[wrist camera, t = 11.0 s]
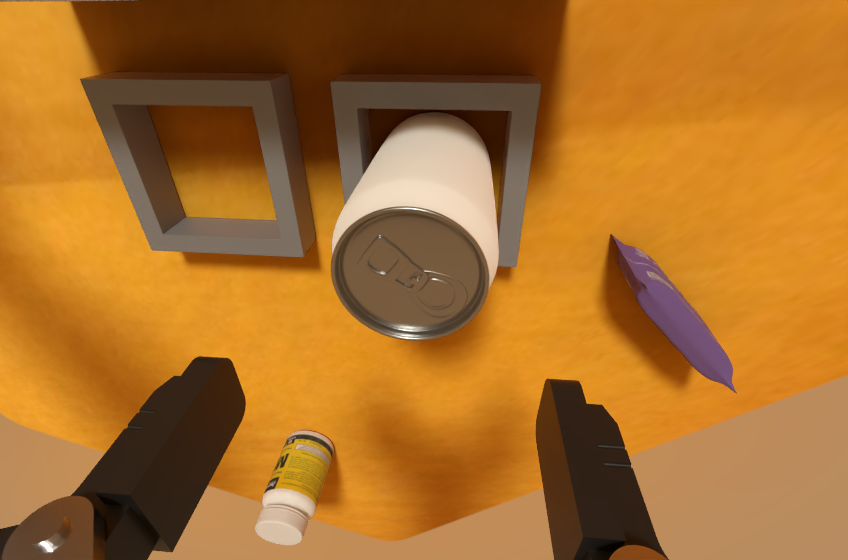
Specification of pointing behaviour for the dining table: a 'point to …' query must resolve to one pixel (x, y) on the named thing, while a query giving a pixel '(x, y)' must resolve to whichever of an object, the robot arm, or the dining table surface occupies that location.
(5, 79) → the dining table surface
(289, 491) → the supplement bottle
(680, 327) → the snack package
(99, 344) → the dining table surface
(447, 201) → the can
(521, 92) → the dock
